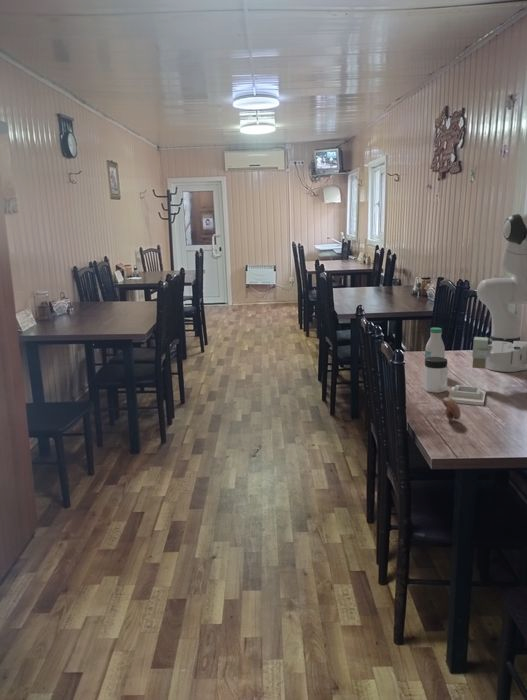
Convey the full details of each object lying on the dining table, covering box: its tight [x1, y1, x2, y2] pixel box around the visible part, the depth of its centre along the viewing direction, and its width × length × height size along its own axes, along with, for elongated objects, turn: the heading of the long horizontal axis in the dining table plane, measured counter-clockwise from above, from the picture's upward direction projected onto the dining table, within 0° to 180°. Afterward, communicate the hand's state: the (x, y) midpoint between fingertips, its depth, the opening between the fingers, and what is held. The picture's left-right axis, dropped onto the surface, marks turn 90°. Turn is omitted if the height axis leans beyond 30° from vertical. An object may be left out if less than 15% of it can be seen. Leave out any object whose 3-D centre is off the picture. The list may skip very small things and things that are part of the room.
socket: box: [447, 384, 487, 406], centre depth 205 cm, size 16×12×3 cm
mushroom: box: [441, 396, 461, 422], centre depth 181 cm, size 8×6×8 cm
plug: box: [471, 336, 489, 370], centre depth 214 cm, size 5×5×11 cm
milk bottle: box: [424, 327, 446, 359], centre depth 232 cm, size 8×8×20 cm
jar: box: [422, 357, 449, 394], centre depth 214 cm, size 9×8×12 cm
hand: (477, 349), depth 214 cm, fingers closed on plug, 5 cm apart
